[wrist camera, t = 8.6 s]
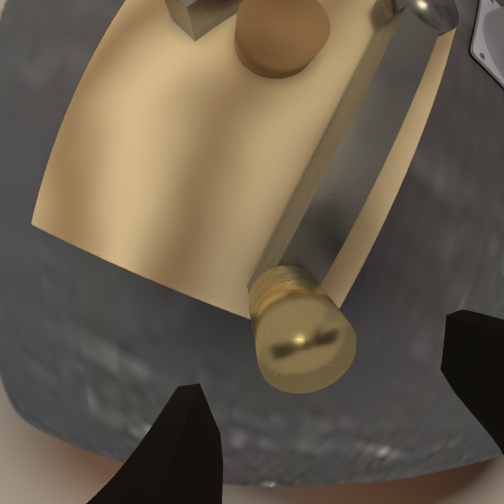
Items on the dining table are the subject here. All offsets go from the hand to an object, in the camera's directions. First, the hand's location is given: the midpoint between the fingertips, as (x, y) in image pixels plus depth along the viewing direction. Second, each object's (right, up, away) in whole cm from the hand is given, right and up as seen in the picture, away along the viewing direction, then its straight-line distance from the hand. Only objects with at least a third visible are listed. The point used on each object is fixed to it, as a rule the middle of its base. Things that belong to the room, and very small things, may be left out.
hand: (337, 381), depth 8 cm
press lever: (+2, +9, +6) cm, 12 cm away
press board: (-2, +12, +7) cm, 14 cm away
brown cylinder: (-1, +14, +6) cm, 15 cm away
